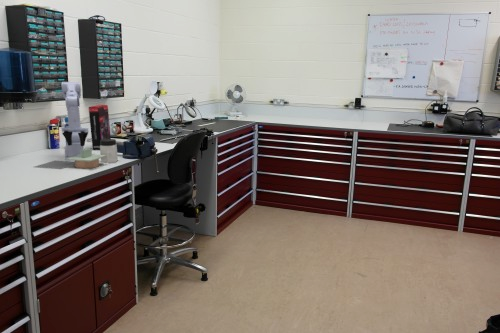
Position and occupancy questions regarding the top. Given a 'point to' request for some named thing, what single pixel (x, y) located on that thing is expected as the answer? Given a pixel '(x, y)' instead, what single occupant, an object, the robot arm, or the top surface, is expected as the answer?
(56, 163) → the mat
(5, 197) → the top surface
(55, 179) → the top surface
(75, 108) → the robot arm
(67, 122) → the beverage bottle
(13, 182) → the top surface
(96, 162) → the bowl
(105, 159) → the jar
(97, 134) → the graphics card box
